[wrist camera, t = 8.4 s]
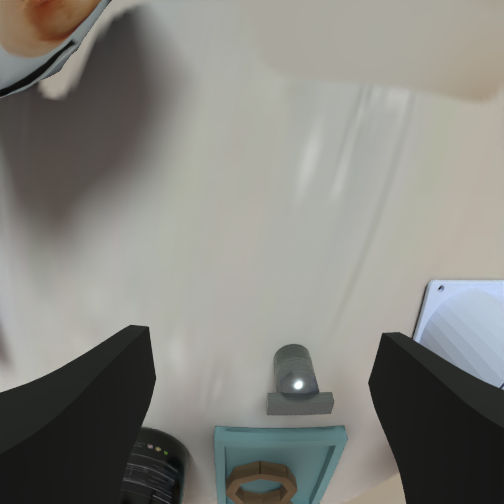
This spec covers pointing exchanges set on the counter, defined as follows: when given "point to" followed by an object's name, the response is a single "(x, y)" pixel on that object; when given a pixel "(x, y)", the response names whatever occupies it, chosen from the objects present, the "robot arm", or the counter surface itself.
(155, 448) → the supplement bottle
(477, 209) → the counter surface
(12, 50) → the lucky cat figurine
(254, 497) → the ring
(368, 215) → the counter surface
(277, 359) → the grey cylinder and bar
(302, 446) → the tray
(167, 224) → the counter surface
